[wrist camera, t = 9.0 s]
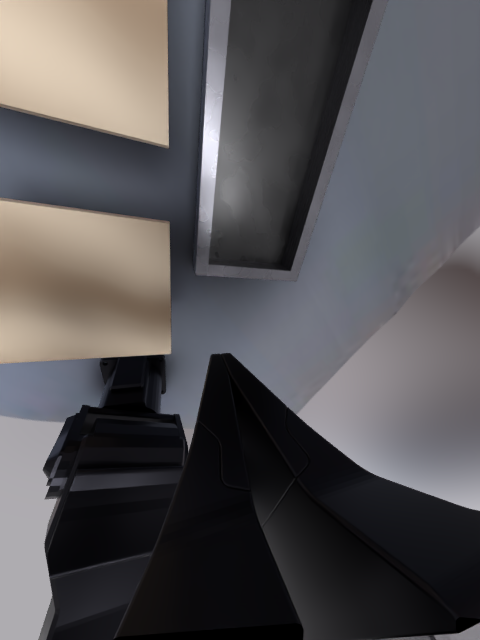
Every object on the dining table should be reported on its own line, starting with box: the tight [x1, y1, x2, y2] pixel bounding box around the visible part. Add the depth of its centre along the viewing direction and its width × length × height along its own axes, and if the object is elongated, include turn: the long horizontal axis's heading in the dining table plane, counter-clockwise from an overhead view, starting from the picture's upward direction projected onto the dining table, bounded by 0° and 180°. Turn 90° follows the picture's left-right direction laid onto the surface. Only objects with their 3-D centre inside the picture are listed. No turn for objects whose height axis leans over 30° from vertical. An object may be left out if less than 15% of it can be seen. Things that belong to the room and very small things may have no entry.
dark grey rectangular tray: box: [193, 0, 388, 281], centre depth 15 cm, size 20×10×2 cm, turn 170°
